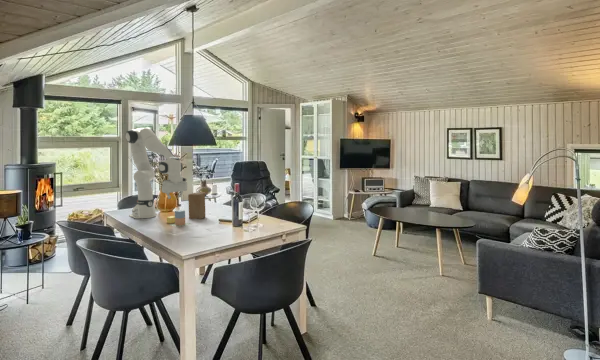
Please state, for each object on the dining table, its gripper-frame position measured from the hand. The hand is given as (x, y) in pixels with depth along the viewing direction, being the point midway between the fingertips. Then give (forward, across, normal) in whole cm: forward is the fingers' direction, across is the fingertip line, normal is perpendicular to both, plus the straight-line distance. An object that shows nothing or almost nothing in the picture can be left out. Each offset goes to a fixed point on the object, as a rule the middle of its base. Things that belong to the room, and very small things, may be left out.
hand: (174, 197), depth 274 cm
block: (+20, +24, +2) cm, 31 cm away
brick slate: (+14, 0, -7) cm, 15 cm away
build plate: (+20, 0, -7) cm, 21 cm away
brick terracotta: (+19, 0, -7) cm, 20 cm away
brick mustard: (+20, +1, +4) cm, 20 cm away
